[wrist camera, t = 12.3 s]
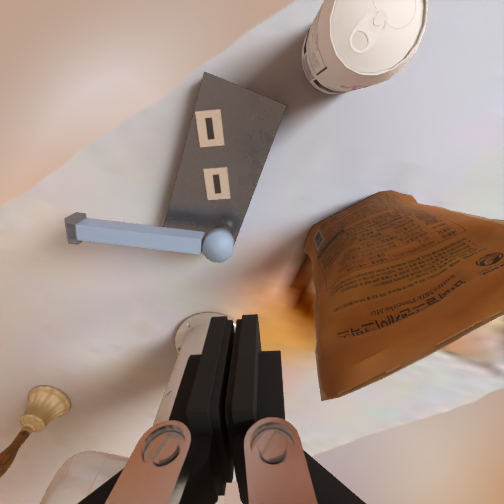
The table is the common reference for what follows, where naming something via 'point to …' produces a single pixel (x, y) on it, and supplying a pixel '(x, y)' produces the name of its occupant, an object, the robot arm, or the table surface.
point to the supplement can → (361, 42)
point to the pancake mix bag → (398, 286)
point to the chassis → (222, 157)
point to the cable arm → (150, 237)
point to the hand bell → (36, 418)
